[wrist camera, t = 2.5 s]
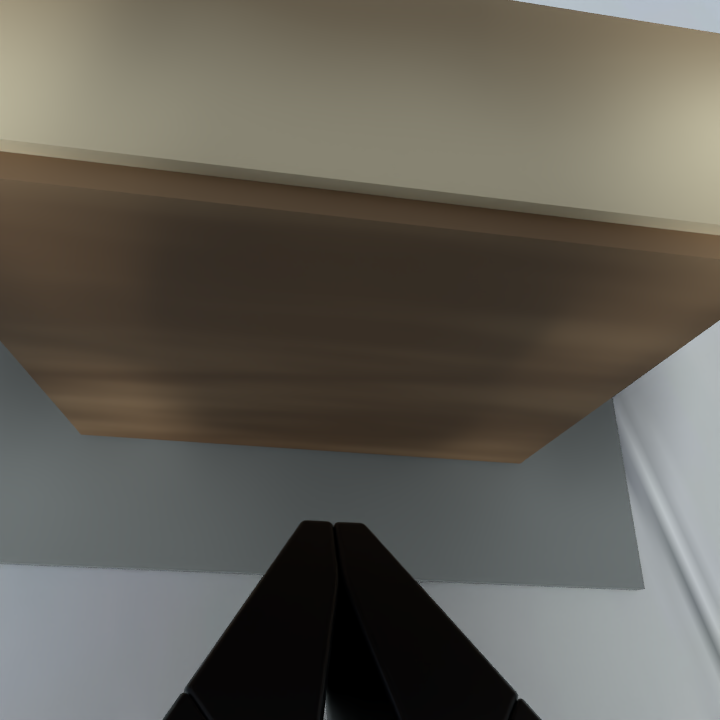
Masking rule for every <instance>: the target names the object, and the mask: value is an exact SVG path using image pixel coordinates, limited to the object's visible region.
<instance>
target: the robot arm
mask: <svg viewBox="0 0 720 720" xmlns="http://www.w3.org/2000/svg"><path fill="white" fill-rule="evenodd" d="M325 701H326V709H327V720H541V719H540V717H539V716H538V715H537V714H536V713H535V712H534V711H533V710H532V709H531V707H530V706H529V705H528V704H527V703H526V702H525V701H524V700H523V699H518V694H517V692H516V691H515V690H514V689H513V688H512V687H511V686H510V685H509V683H508V682H507V681H506V680H505V679H504V678H503V677H502V676H501V675H500V673H499V672H498V671H497V670H496V669H495V668H494V667H493V666H492V665H491V664H490V662H489V661H488V660H487V659H486V658H485V657H484V656H483V655H482V654H481V652H480V651H479V650H478V649H477V648H476V647H475V646H474V645H473V644H472V642H471V641H470V640H469V639H468V638H467V637H466V636H465V635H464V634H463V632H462V631H461V630H460V629H459V628H458V627H457V626H456V625H455V624H454V622H453V621H452V620H451V619H450V618H449V617H448V616H447V615H446V614H445V612H444V611H443V610H442V609H441V608H440V607H439V606H438V605H437V604H436V603H435V601H434V600H433V599H432V598H431V597H430V596H429V595H428V594H427V593H426V591H425V590H424V589H423V588H422V587H421V586H420V585H419V584H418V583H417V581H416V580H415V579H414V578H413V577H412V576H411V575H410V574H409V573H408V571H407V570H406V569H405V568H404V567H403V566H402V565H401V564H400V563H399V561H398V560H397V559H396V558H395V557H394V556H393V555H392V554H391V553H390V551H389V550H388V549H387V548H386V547H385V546H384V545H383V544H382V543H381V542H380V540H379V539H378V538H377V537H376V536H375V535H374V534H373V533H372V532H371V530H370V529H369V528H368V527H367V526H366V525H365V524H363V523H354V522H336V523H335V524H334V525H332V523H331V522H329V521H315V520H304V521H302V522H301V523H300V524H299V525H298V527H297V528H296V530H295V531H294V533H293V534H292V536H291V537H290V538H289V540H288V541H287V543H286V544H285V546H284V547H283V548H282V550H281V551H280V553H279V554H278V556H277V557H276V558H275V560H274V561H273V563H272V564H271V566H270V567H269V568H268V570H267V571H266V573H265V574H264V576H263V577H262V578H261V580H260V581H259V583H258V584H257V586H256V587H255V589H254V590H253V591H252V593H251V594H250V596H249V597H248V599H247V600H246V601H245V603H244V604H243V606H242V607H241V609H240V610H239V611H238V613H237V614H236V616H235V617H234V619H233V620H232V621H231V623H230V624H229V626H228V627H227V629H226V630H225V631H224V633H223V634H222V636H221V637H220V639H219V640H218V642H217V643H216V644H215V646H214V647H213V649H212V650H211V652H210V653H209V654H208V656H207V657H206V659H205V660H204V662H203V663H202V664H201V666H200V667H199V669H198V670H197V672H196V673H195V674H194V676H193V677H192V679H191V680H190V682H189V683H188V684H187V686H186V687H185V690H184V693H182V694H180V695H179V697H178V698H177V700H176V701H175V703H174V704H173V705H172V707H171V708H170V710H169V711H168V713H167V714H166V715H165V717H164V718H163V720H323V717H324V709H325Z"/></svg>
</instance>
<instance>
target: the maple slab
mask: <svg viewBox="0 0 720 720" xmlns="http://www.w3.org/2000/svg"><path fill="white" fill-rule="evenodd" d="M719 320H720V34H719V33H713V32H707V31H700V30H694V29H688V28H682V27H675V26H669V25H663V24H657V23H650V22H644V21H638V20H632V19H625V18H619V17H613V16H607V15H600V14H594V13H588V12H582V11H575V10H569V9H563V8H557V7H550V6H544V5H538V4H532V3H525V2H519V1H513V0H0V341H1V342H2V343H3V344H4V346H5V347H6V348H7V349H8V350H9V351H10V353H11V354H12V355H13V356H14V357H15V358H16V360H17V361H18V362H19V363H20V364H21V365H22V367H23V368H24V369H25V370H26V371H27V372H28V374H29V375H30V376H31V377H32V378H33V379H34V381H35V382H36V383H37V384H38V385H39V386H40V387H41V389H42V390H43V391H44V392H45V393H46V394H47V396H48V397H49V398H50V399H51V400H52V401H53V403H54V404H55V405H56V406H57V407H58V408H59V410H60V411H61V412H62V413H63V414H64V415H65V417H66V418H67V419H68V420H69V421H70V422H71V424H72V425H73V426H74V427H75V428H76V429H77V430H78V432H79V433H80V434H81V435H93V436H108V437H123V438H139V439H154V440H169V441H184V442H199V443H214V444H229V445H245V446H260V447H275V448H290V449H305V450H320V451H335V452H351V453H366V454H381V455H396V456H411V457H426V458H441V459H457V460H472V461H487V462H502V463H517V464H520V463H522V462H523V461H525V460H526V459H527V458H529V457H530V456H531V455H533V454H534V453H536V452H537V451H538V450H540V449H541V448H543V447H544V446H545V445H547V444H548V443H550V442H551V441H552V440H554V439H555V438H556V437H558V436H559V435H561V434H562V433H563V432H565V431H566V430H568V429H569V428H570V427H572V426H573V425H575V424H576V423H577V422H579V421H580V420H581V419H583V418H584V417H586V416H587V415H588V414H590V413H591V412H593V411H594V410H595V409H597V408H598V407H600V406H601V405H602V404H604V403H605V402H606V401H608V400H609V399H611V398H612V397H613V396H615V395H616V394H618V393H619V392H620V391H622V390H623V389H625V388H626V387H627V386H629V385H630V384H631V383H633V382H634V381H636V380H637V379H638V378H640V377H641V376H643V375H644V374H645V373H647V372H648V371H650V370H651V369H652V368H654V367H655V366H656V365H658V364H659V363H661V362H662V361H663V360H665V359H666V358H668V357H669V356H670V355H672V354H673V353H675V352H676V351H677V350H679V349H680V348H681V347H683V346H684V345H686V344H687V343H688V342H690V341H691V340H693V339H694V338H695V337H697V336H698V335H700V334H701V333H702V332H704V331H705V330H706V329H708V328H709V327H711V326H712V325H713V324H715V323H716V322H718V321H719Z"/></svg>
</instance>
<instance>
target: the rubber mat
mask: <svg viewBox="0 0 720 720" xmlns="http://www.w3.org/2000/svg"><path fill="white" fill-rule="evenodd" d="M304 520H315V521H329V522H331V523H332V525H334V524H335V523H336V522H354V523H363V524H365V525H366V526H367V527H368V528H369V529H370V530H371V532H372V533H373V534H374V535H375V536H376V537H377V538H378V539H379V540H380V542H381V543H382V544H383V545H384V546H385V547H386V548H387V549H388V550H389V551H390V553H391V554H392V555H393V556H394V557H395V558H396V559H397V560H398V561H399V563H400V564H401V565H402V566H403V567H404V568H405V569H406V570H407V571H408V573H409V574H410V575H411V576H412V577H413V578H414V579H415V580H416V581H426V582H450V583H475V584H499V585H523V586H547V587H571V588H596V589H620V590H641V589H645V588H644V582H643V576H642V570H641V564H640V558H639V552H638V546H637V541H636V535H635V529H634V523H633V517H632V511H631V505H630V499H629V493H628V487H627V482H626V476H625V470H624V464H623V458H622V452H621V446H620V440H619V434H618V428H617V423H616V417H615V411H614V405H613V399H612V398H611V399H609V400H608V401H606V402H605V403H604V404H602V405H601V406H600V407H598V408H597V409H595V410H594V411H593V412H591V413H590V414H588V415H587V416H586V417H584V418H583V419H581V420H580V421H579V422H577V423H576V424H575V425H573V426H572V427H570V428H569V429H568V430H566V431H565V432H563V433H562V434H561V435H559V436H558V437H556V438H555V439H554V440H552V441H551V442H550V443H548V444H547V445H545V446H544V447H543V448H541V449H540V450H538V451H537V452H536V453H534V454H533V455H531V456H530V457H529V458H527V459H526V460H525V461H523V462H522V463H520V464H517V463H502V462H487V461H472V460H457V459H441V458H426V457H411V456H396V455H381V454H366V453H351V452H335V451H320V450H305V449H290V448H275V447H260V446H245V445H229V444H214V443H199V442H184V441H169V440H154V439H139V438H123V437H108V436H93V435H81V434H80V433H79V432H78V430H77V429H76V428H75V427H74V426H73V425H72V424H71V422H70V421H69V420H68V419H67V418H66V417H65V415H64V414H63V413H62V412H61V411H60V410H59V408H58V407H57V406H56V405H55V404H54V403H53V401H52V400H51V399H50V398H49V397H48V396H47V394H46V393H45V392H44V391H43V390H42V389H41V387H40V386H39V385H38V384H37V383H36V382H35V381H34V379H33V378H32V377H31V376H30V375H29V374H28V372H27V371H26V370H25V369H24V368H23V367H22V365H21V364H20V363H19V362H18V361H17V360H16V358H15V357H14V356H13V355H12V354H11V353H10V351H9V350H8V349H7V348H6V347H5V346H4V344H3V343H2V342H1V341H0V564H15V565H39V566H64V567H88V568H112V569H136V570H160V571H184V572H209V573H233V574H257V575H264V574H265V573H266V571H267V570H268V568H269V567H270V566H271V564H272V563H273V561H274V560H275V558H276V557H277V556H278V554H279V553H280V551H281V550H282V548H283V547H284V546H285V544H286V543H287V541H288V540H289V538H290V537H291V536H292V534H293V533H294V531H295V530H296V528H297V527H298V525H299V524H300V523H301V522H302V521H304Z"/></svg>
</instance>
